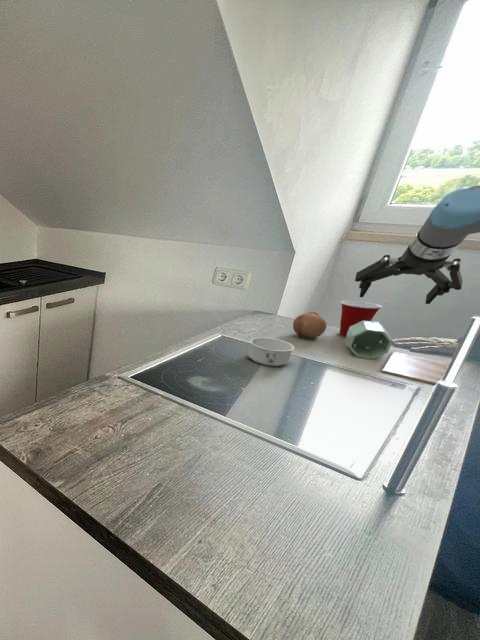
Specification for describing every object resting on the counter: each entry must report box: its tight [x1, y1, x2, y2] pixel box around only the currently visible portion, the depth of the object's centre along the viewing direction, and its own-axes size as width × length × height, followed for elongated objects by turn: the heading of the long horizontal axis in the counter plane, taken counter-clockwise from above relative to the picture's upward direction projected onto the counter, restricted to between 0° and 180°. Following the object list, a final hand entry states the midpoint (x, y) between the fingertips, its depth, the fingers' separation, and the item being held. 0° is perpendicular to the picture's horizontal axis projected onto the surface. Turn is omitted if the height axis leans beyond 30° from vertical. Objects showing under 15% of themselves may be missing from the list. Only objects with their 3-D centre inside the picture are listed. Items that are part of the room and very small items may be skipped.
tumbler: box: [345, 320, 393, 360], centre depth 123 cm, size 10×9×9 cm
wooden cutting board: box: [381, 351, 450, 386], centre depth 113 cm, size 20×12×1 cm, turn 130°
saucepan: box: [247, 337, 295, 367], centre depth 117 cm, size 12×20×6 cm, turn 147°
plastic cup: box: [339, 300, 383, 338], centre depth 136 cm, size 11×11×12 cm
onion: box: [292, 311, 327, 340], centre depth 137 cm, size 10×9×10 cm
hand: (393, 296), depth 108 cm, fingers open, 13 cm apart
